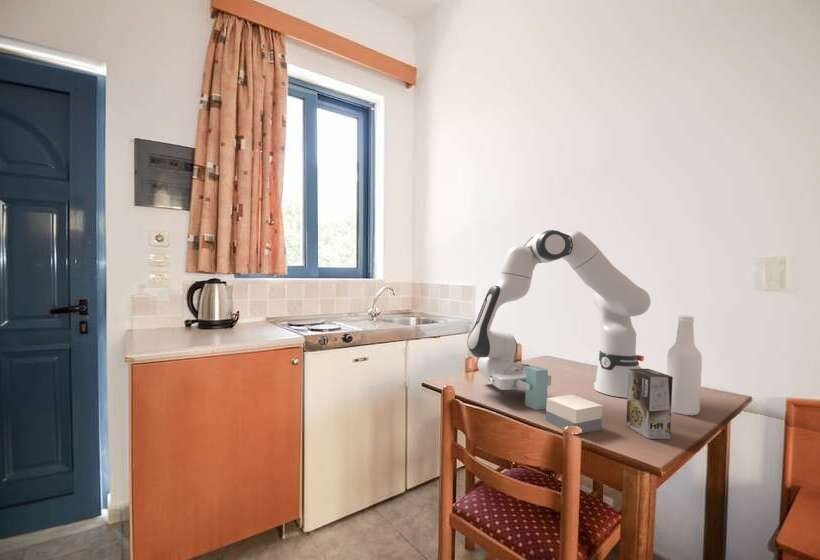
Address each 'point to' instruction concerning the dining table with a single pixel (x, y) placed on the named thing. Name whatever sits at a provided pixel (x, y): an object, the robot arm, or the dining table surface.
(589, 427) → the slab bottom
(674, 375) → the alcohol
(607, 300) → the robot arm
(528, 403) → the teal post
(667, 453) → the dining table surface
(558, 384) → the dining table surface
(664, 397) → the coffee box
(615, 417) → the dining table surface
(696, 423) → the dining table surface
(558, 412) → the slab top
